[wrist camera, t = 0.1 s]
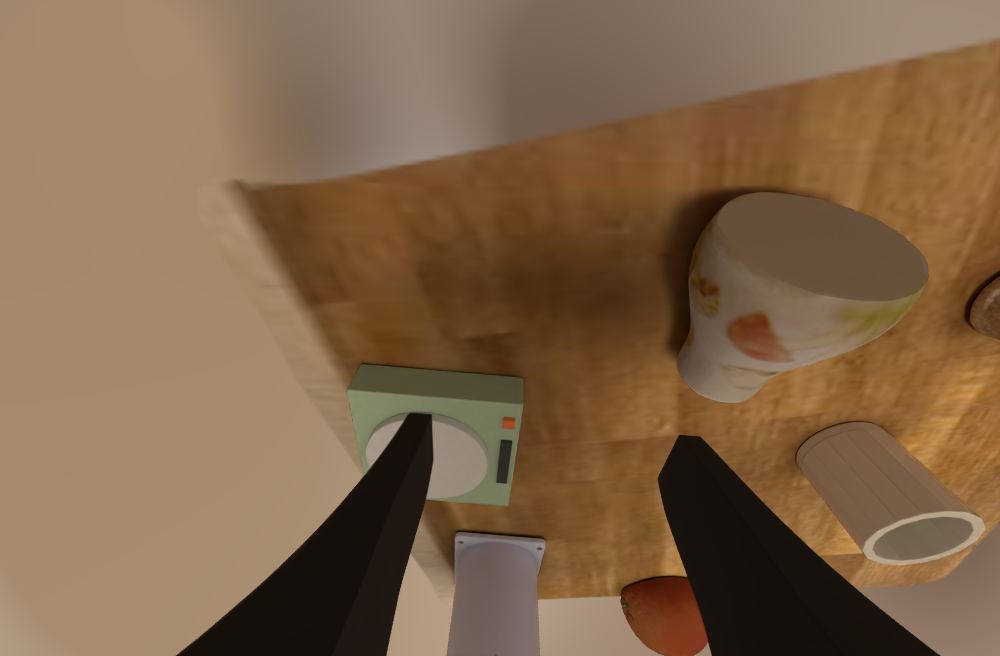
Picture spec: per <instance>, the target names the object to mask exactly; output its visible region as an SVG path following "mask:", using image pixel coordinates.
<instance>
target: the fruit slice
mask: <svg viewBox="0 0 1000 656" xmlns="http://www.w3.org/2000/svg"><path fill="white" fill-rule="evenodd" d="M621 595H622V596H621V600H620V602H621V605H622V609H623V612H624V614H625V616H626V619H627V621H628V623H629V625H630V627H631V629H632V630H633V631H634V633H635V635H636V636H637V637H638V638H639V639H640V640H641V641H642V643H644V644H645V645H646V646H647V647H648V648H650V649H652V650H653V651H655V652H657V653H658V654H662V655H664V656H694V655H695V654H697V653H699V652H700V651H701V650H702V649H704V647H705V646H706V645H707V643H708V639H707V635H706V632H705V628H704V624H703V620H702V617H701V614H700V611H699V608H698V605H697V602H696V599H695V596H694V593H693V590H692V588H691V585H690V582H689V579H686V578H680V577H666V578H656V579H651V580H647V581H643V582H640V583H636V584H633V585H630V586H628V587H626V588H624V589H623V593H622V594H621Z"/></svg>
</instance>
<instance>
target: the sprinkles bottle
mask: <svg viewBox="0 0 1000 656" xmlns="http://www.w3.org/2000/svg"><path fill="white" fill-rule="evenodd" d="M970 323H971V324H972V325H973V327H974V328H975V330H977V331H978V332H980V333H981V334H984V335H986V336H989V337H994V338H997V339H999V340H1000V276H999V277H998V278H996V279H995V280H994V281H993V282H992V283H990V284H989V285H987V286H986V287H985V288H984V289H983V290H982V292H981V293H980V294H979V296H978V297H977V299H976V300H975V301H974V303H973V305H972V308H971V312H970Z"/></svg>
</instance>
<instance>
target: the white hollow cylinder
mask: <svg viewBox="0 0 1000 656" xmlns="http://www.w3.org/2000/svg"><path fill="white" fill-rule="evenodd" d="M796 461H797V464H798V466H799V468H800V469H801V470H802V472H803V473H804V474H805V476H806V477H807V479H808V480H809V481H810V483H811V484H812V485H813V487H814V488H815V489H816V491H817V492H818V493H819V495H820V496H821V497H822V499H823V500H824V501H825V503H826V504H827V505H828V507H829V508H830V509H831V511H832V512H833V513H834V515H835V516H836V517H837V519H838V520H839V521H840V523H841V524H842V525H843V527H844V528H845V529H846V531H847V532H848V533H849V535H850V536H851V538H852V539H853V540H854V542H855V543H856V544H857V546H858V547H859V548H860V550H861V551H862V552H863V554H864V555H865V556H866V558H868V559H870V560H872V561H875V562H878V563H881V564H892V565H904V564H915V563H922V562H927V561H931V560H935V559H939V558H942V557H946V556H948V555H951V554H953V553H955V552H958V551H960V550H962V549H964V548H966V547H967V546H969V545H970V544H972V543H973V542H975V541H976V540H978V539H979V537H980V536H981V534H982V533H983V531H984V530H985V525H984V522H983V519H982V518H981V517H980V516H979V515H978V514H977V513H976V512H974V511H973V510H972V509H971V508H970V507H969V506H968V505H967V504H966V503H965V502H964V501H962V500H961V499H960V498H959V497H958V496H957V495H956V494H955V493H954V492H953V491H952V490H951V489H949V488H948V487H947V486H946V485H945V484H944V483H943V482H942V481H941V480H940V479H939V478H937V477H936V476H935V475H934V474H933V473H932V472H931V471H930V470H929V469H928V468H927V467H926V466H924V465H923V464H922V463H921V462H920V461H919V460H918V459H917V458H916V457H915V456H914V455H912V454H911V453H910V452H909V451H908V450H907V449H906V448H905V447H904V446H903V445H902V444H901V443H899V442H898V441H897V440H896V439H895V438H894V437H893V436H891V435H889V434H888V433H887V432H886V431H885V430H884V429H883V428H882V427H880V426H878V425H875V424H872V423H867V422H851V423H845V424H840V425H836V426H833V427H830V428H827V429H825V430H823V431H821V432H819V433H817V434H815V435H814V436H812V437H811V438H809V439H808V440H807V441H806V442H805V443H804V444H803V445H802V446H801V447H800V449H799V450H798V452H797V455H796Z"/></svg>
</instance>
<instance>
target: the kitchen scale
mask: <svg viewBox="0 0 1000 656" xmlns="http://www.w3.org/2000/svg"><path fill="white" fill-rule="evenodd" d="M347 395H348V400H349V405H350V410H351V415H352V420H353V424H354V429H355V434H356V439H357V444H358V449H359V453H360V458H361V463H362V468H363V473H364V475H365V474H366V473H367V471H368V470H369V469H370V468H371V466H372V465H373V464H374V462H375V461H376V460H377V458H378V457H379V456H380V455H381V453H382V452H383V450H384V449H385V448H386V446H387V445H388V443H389V442H390V441H391V439H392V438H393V436H394V435H395V433H396V432H397V430H398V429H399V427H400V426H401V424H402V423H403V421H404V420H405V418H406V416H407V415H408V414H409V413H411V412H412V413H424V414H432V430H433V455H434V461H433V466H432V472H431V477H430V483H429V488H428V493H427V497H426V499H427V500H439V501H451V502H463V503H475V504H487V505H499V506H508V504H509V498H510V491H511V484H512V478H513V471H514V464H515V458H516V451H517V445H518V438H519V431H520V425H521V418H522V411H523V378H520V377H509V376H497V375H485V374H473V373H461V372H450V371H438V370H426V369H414V368H402V367H390V366H379V365H367V364H361V366H360V367H359V369H358V371H357V373H356V374H355V376H354V378H353V380H352V381H351V383H350V385H349V387H348V388H347Z"/></svg>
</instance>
